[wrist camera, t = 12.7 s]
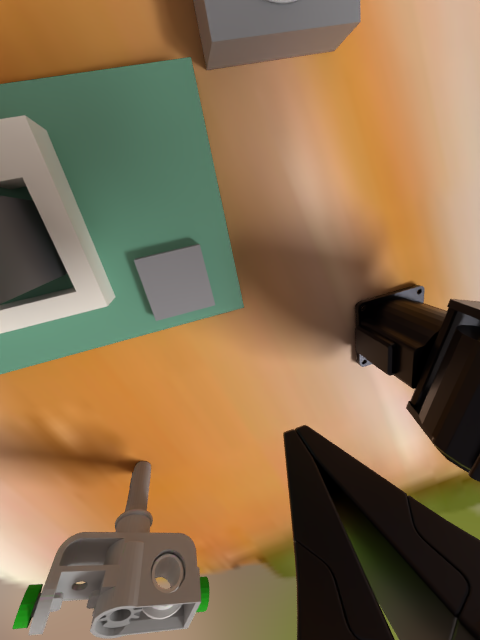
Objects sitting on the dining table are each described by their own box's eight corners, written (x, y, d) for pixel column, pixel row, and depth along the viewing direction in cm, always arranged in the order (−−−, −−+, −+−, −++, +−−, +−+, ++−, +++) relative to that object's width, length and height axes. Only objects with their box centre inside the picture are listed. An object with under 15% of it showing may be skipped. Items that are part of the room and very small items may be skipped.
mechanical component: (84, 449, 22) (14, 615, 12) (201, 461, 25) (214, 599, 16) (77, 475, 22) (6, 650, 13) (191, 483, 26) (199, 629, 16)
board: (189, 72, 15) (192, 30, 11) (239, 301, 20) (251, 316, 17) (-228, 135, 12) (-374, 103, 9) (-43, 377, 18) (-92, 412, 14)
